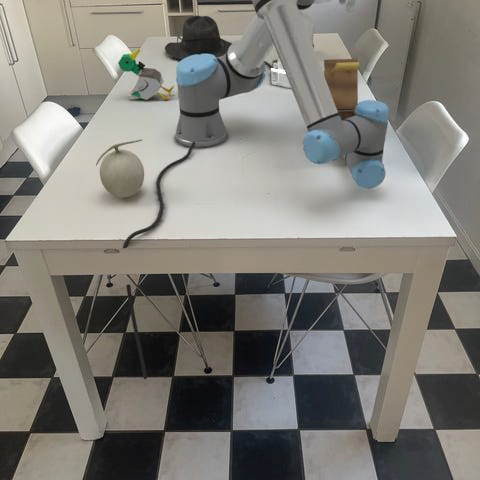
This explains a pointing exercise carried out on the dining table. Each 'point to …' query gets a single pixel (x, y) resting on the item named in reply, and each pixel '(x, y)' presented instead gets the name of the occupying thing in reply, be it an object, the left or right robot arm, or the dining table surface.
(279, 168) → the dining table surface
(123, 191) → the fruit
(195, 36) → the hat
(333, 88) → the lid
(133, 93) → the toy
